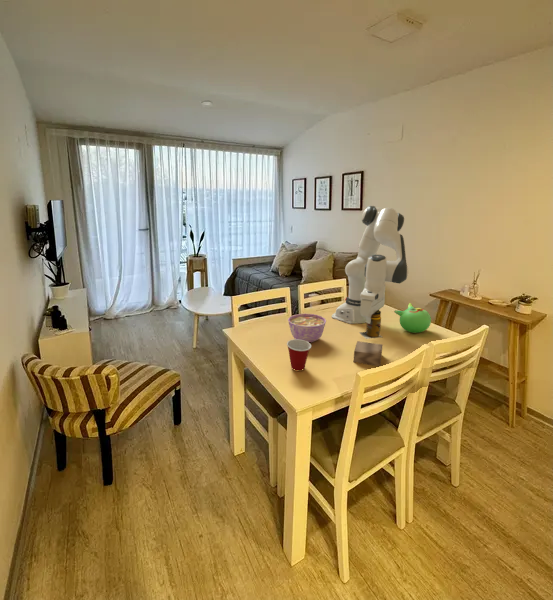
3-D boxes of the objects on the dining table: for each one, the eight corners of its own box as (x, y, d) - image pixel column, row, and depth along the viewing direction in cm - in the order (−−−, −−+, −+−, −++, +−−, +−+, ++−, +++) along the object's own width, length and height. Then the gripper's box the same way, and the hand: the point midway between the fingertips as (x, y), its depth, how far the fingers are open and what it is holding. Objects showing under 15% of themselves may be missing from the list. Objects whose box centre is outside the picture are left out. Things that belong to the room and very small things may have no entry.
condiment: (383, 337, 152) (385, 312, 149) (366, 339, 151) (368, 314, 147) (374, 331, 159) (377, 307, 156) (358, 333, 157) (360, 309, 154)
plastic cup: (306, 376, 143) (307, 350, 139) (282, 371, 147) (283, 346, 143) (313, 365, 152) (314, 341, 149) (291, 361, 156) (291, 337, 153)
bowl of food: (282, 344, 174) (283, 323, 171) (294, 330, 192) (294, 311, 189) (320, 350, 168) (321, 328, 164) (328, 335, 186) (329, 316, 182)
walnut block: (353, 362, 156) (354, 351, 154) (356, 352, 166) (357, 341, 165) (380, 366, 152) (381, 354, 150) (381, 355, 163) (382, 344, 161)
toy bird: (418, 339, 181) (422, 314, 176) (390, 330, 193) (393, 306, 189) (434, 331, 192) (438, 307, 187) (407, 323, 204) (410, 300, 200)
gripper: (376, 286, 159) (373, 313, 163) (358, 295, 143) (356, 325, 147) (389, 288, 156) (386, 316, 160) (372, 298, 140) (370, 328, 144)
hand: (371, 320), depth 153 cm, fingers closed on condiment, 6 cm apart
